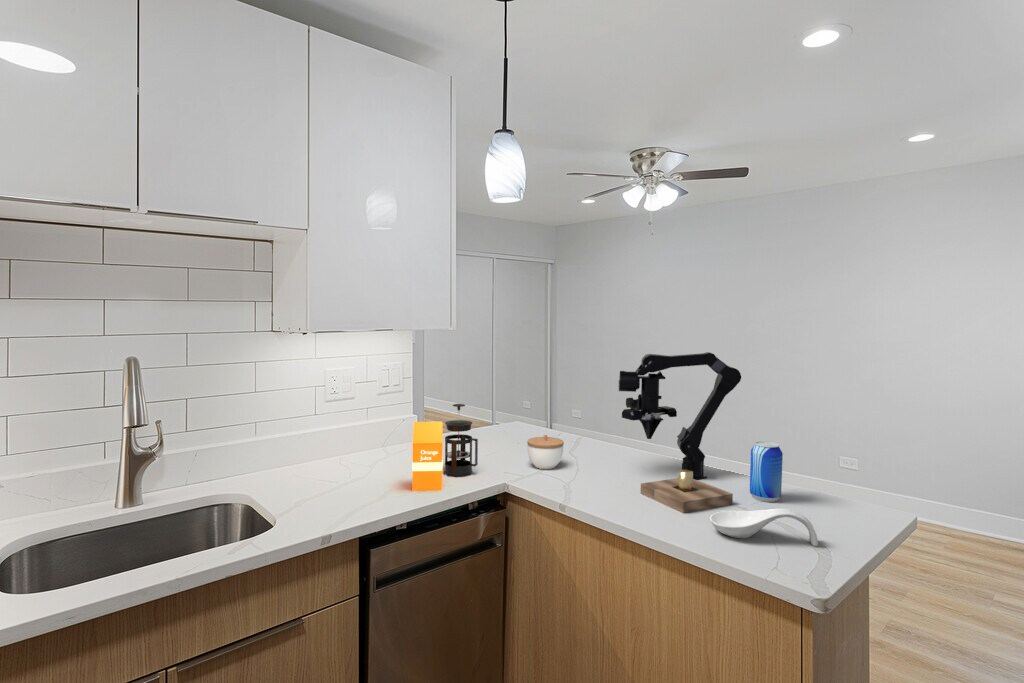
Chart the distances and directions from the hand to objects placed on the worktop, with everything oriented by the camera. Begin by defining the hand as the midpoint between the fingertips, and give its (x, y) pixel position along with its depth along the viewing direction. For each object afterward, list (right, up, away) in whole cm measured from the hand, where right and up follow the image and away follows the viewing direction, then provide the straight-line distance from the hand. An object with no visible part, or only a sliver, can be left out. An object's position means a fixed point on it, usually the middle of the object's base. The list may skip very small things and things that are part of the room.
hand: (649, 438), depth 185 cm
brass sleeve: (+5, -13, -23) cm, 27 cm away
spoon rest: (+15, -15, -51) cm, 55 cm away
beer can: (+28, -14, -22) cm, 39 cm away
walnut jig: (+5, -13, -24) cm, 27 cm away
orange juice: (-71, -12, -15) cm, 74 cm away
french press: (-63, -12, 0) cm, 64 cm away
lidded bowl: (-34, -11, +9) cm, 37 cm away
